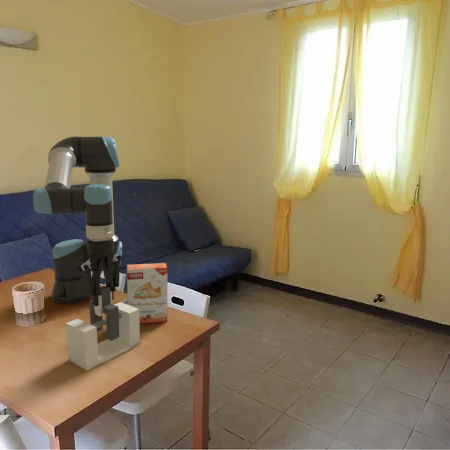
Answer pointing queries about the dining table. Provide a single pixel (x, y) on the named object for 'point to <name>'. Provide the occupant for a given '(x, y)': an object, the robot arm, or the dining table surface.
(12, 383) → the dining table surface
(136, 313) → the cream rod holder
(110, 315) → the grey zigzag block
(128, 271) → the cracker box
